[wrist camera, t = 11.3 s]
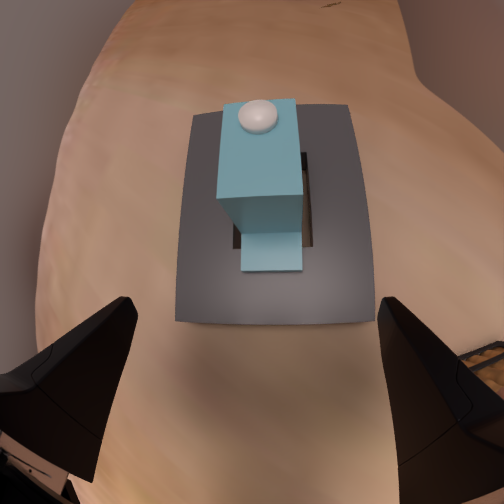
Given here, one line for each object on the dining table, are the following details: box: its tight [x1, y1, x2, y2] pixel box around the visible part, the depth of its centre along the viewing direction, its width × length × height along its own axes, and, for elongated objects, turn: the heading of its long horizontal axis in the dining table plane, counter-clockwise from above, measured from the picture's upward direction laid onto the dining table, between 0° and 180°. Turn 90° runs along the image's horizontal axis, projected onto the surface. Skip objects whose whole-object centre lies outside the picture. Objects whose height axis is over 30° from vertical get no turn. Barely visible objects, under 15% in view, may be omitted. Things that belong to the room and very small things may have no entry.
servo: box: [216, 99, 303, 272], centre depth 17 cm, size 11×4×11 cm, turn 179°
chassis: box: [175, 104, 375, 325], centre depth 21 cm, size 18×14×3 cm
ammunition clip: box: [458, 341, 504, 400], centre depth 11 cm, size 11×2×12 cm, turn 94°
